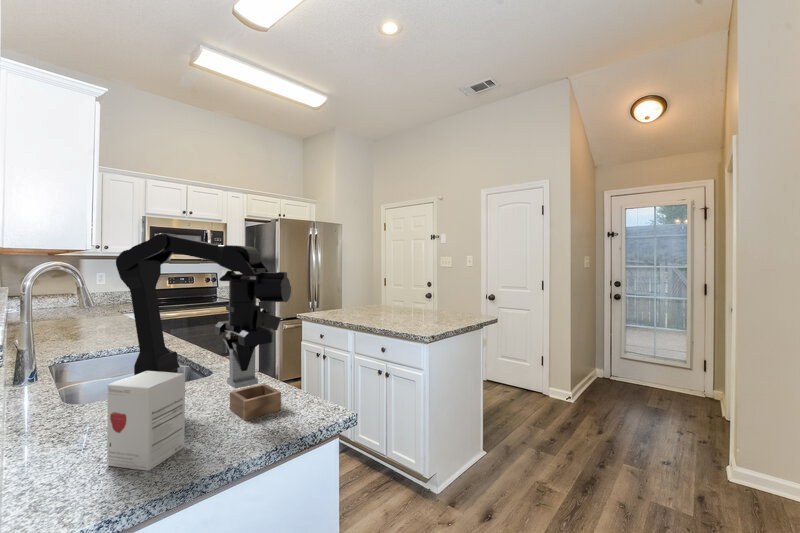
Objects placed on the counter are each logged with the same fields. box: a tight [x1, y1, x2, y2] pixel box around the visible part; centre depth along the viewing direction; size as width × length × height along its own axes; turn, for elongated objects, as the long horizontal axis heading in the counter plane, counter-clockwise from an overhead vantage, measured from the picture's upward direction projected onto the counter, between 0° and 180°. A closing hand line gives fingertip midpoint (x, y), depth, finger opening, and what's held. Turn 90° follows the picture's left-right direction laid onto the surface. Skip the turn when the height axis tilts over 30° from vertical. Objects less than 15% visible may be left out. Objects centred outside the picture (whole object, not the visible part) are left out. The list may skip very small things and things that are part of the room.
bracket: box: [226, 348, 259, 390], centre depth 84 cm, size 5×5×8 cm
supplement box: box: [106, 371, 186, 472], centre depth 70 cm, size 9×9×15 cm
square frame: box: [229, 383, 282, 422], centre depth 92 cm, size 9×9×4 cm
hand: (242, 369), depth 84 cm, fingers closed on bracket
